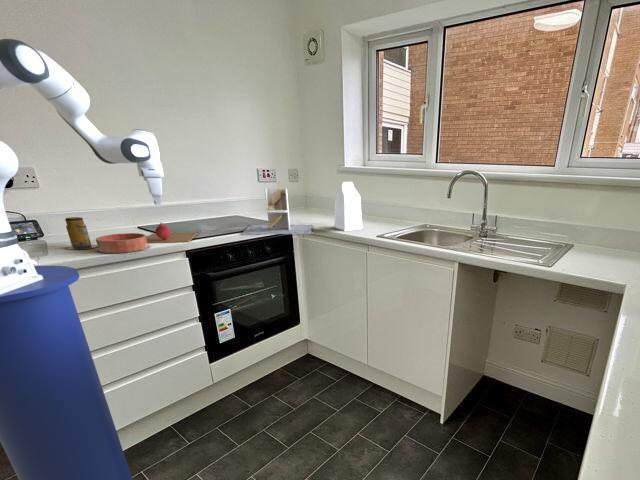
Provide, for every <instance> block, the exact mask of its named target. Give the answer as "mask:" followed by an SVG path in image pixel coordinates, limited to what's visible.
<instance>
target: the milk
mask: <svg viewBox="0 0 640 480" xmlns="http://www.w3.org/2000/svg"><path fill="white" fill-rule="evenodd" d="M340 185H341V186H340V188H339V189H338V190H337V191H336V193H335V195H334V229H337V230H341V231H345V232H346V231H347V232H348V231H356V230H357V231H358V230H363V218H362V217H363V215H362V201H361V195H360V194H359V192H358V190H357V189H356V188H355V185H354V183H353V181H342V182H341V184H340Z"/></svg>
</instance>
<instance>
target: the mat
mask: <svg viewBox="0 0 640 480" xmlns="http://www.w3.org/2000/svg"><path fill="white" fill-rule="evenodd" d="M198 235H199V232H178V233H177V232H176V233H175V232H173V233H172V232H171V235H170V237H169V238H168V239H167V240H163V239H161V238H159V237H158V236H157V234H156V233H151V234H150V235H147V236H146V238H147V243H148V244H158V243H159V244H162V243H163V244H165V243H189V242H190V241H191V240H193V239H194V238H195V237H196V236H198Z"/></svg>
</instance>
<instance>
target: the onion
mask: <svg viewBox="0 0 640 480" xmlns="http://www.w3.org/2000/svg"><path fill="white" fill-rule="evenodd" d="M171 233H172V231H171V229H170V227H169V226H168V225H166V224H164V223H163V221H161V222H160V223H159V225H157V227H156V228H155V234H157V236H158V237H159V238H161V239H163V240H167V239H168V238H169V237H170V235H171Z"/></svg>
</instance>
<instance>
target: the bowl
mask: <svg viewBox="0 0 640 480" xmlns="http://www.w3.org/2000/svg"><path fill="white" fill-rule="evenodd" d="M146 237H147V234H144V233H139V232H127V233H126V232H125V233H113V234H107V235H105V234H104V235H101V236H98V237H96V238H95V241H96V245H97V246H98V247H97V249H98V251H99V252H100V253H106V254H123V253H131V252H132V253H133V252H137V251H141V250H145V249H147V248H149V243H147V238H146Z"/></svg>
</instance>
